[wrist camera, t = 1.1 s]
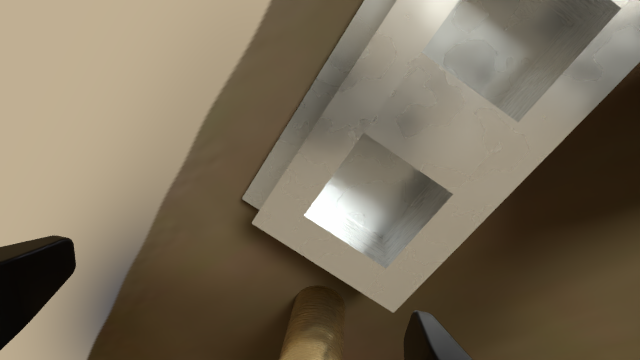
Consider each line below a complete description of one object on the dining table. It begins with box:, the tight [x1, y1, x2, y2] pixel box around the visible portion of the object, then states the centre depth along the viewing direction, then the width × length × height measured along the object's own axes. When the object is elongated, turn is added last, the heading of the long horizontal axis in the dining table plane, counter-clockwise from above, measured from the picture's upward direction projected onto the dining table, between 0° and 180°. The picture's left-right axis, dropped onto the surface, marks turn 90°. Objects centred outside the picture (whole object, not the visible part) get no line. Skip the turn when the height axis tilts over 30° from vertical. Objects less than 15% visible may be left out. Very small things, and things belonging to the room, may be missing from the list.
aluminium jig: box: [242, 0, 640, 313], centre depth 17 cm, size 13×22×4 cm, turn 147°
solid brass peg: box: [279, 286, 345, 360], centre depth 21 cm, size 4×4×8 cm
